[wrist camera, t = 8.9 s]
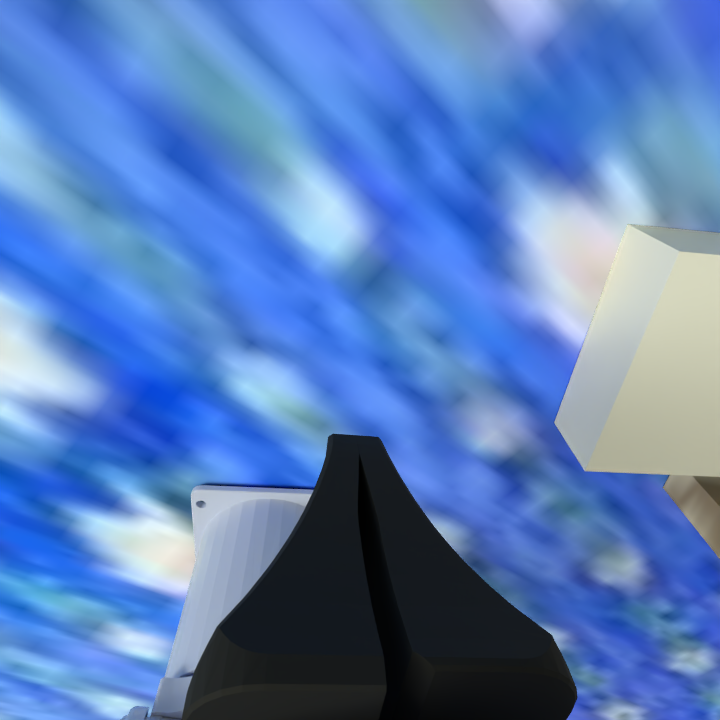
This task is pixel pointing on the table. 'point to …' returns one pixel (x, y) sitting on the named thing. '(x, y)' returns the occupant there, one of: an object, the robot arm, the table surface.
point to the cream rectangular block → (651, 360)
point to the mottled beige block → (698, 504)
